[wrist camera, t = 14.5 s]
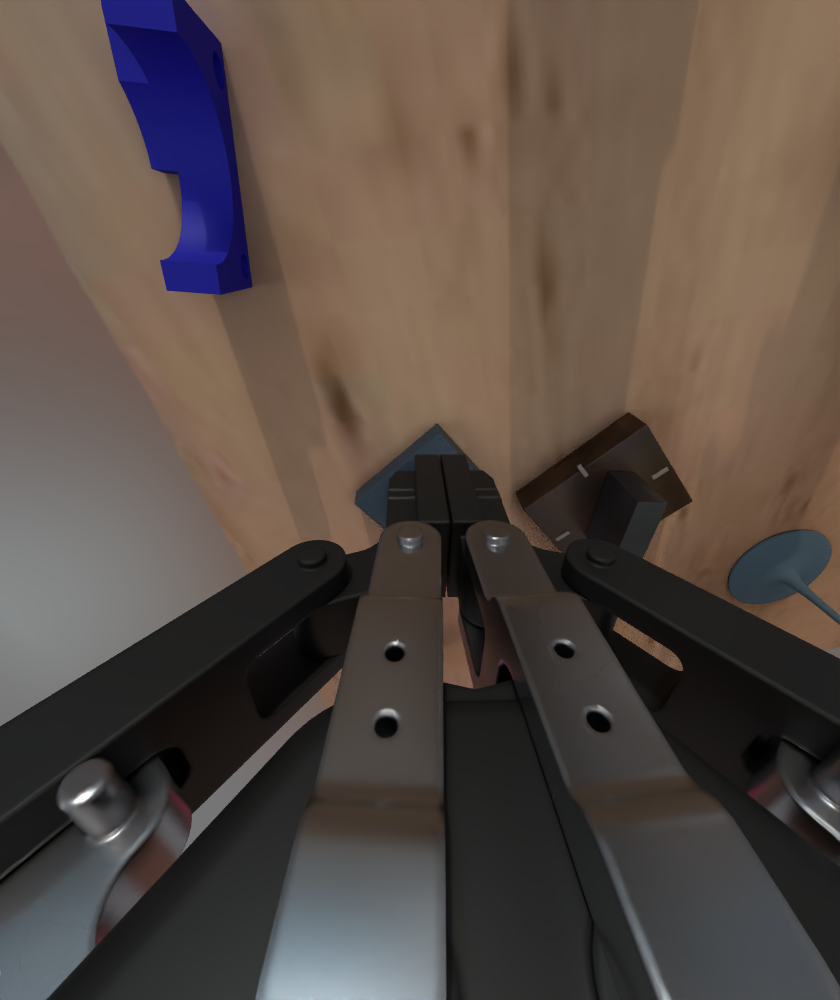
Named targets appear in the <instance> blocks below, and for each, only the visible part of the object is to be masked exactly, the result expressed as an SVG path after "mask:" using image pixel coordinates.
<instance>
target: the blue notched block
mask: <svg viewBox="0 0 840 1000" xmlns="http://www.w3.org/2000/svg"><path fill="white" fill-rule="evenodd" d="M101 3H102V4H101V5H102V10H103V14H104V18H105V23H106V27H107V32H108V36H109V40H110V45H111V49H112V53H113V58H114V62H115V67H116V71H117V75H118V80H119V82H120V84H121V86H122V88H123V90H124V92H125V94H126V96H127V98H128V100H129V102H130V105H131V107H132V109H133V112H134V114H135V116H136V119H137V122H138V124H139V127H140V130H141V133H142V136H143V139H144V142H145V145H146V148H147V152H148V156H149V160H150V164H151V168H152V169H154V170H157V171H160V172H163V173H170V174H179V180H180V186H181V195H182V229H181V235H180V239H179V243H178V245H177V248H176V249H175V251H174V253H173V254H172V255H171V256H170V257H169V258H167V259H165V260H160V262H161V267H162V271H163V275H164V280H165V284H166V289H167V291H179V292H193V293H206V294H219V295H221V294H225V293H230V292H234V291H238V290H242V289H246V288H251V287H252V281H251V273H250V265H249V258H248V250H247V242H246V234H245V226H244V219H243V211H242V203H241V195H240V187H239V180H238V172H237V164H236V156H235V148H234V141H233V133H232V125H231V117H230V109H229V102H228V94H227V86H226V78H225V70H224V63H223V55H222V47H221V43H220V42H219V40H218V39H217V38H216V37H215V36H214V34H213V33H212V32H211V31H210V30H209V28H208V27H207V26H206V25H205V24H204V23H203V21H202V20H201V19H200V18H199V17H198V15H197V14H196V13H195V12H194V11H193V9H192V8H191V7H190V6H189V5H188V3H187V2H186V1H185V0H101Z"/></svg>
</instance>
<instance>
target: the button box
mask: <svg viewBox="0 0 840 1000" xmlns="http://www.w3.org/2000/svg"><path fill="white" fill-rule="evenodd" d="M415 454H439V458H440V455H441V454H465V453H464V452H463V451H462V450H461V449H460V448H459V447H458V445H457V444H456V443H455V442H454V441H453V440H452V439H451V438H450V437H449V436H448V434H447V433H446V432H445V431H444V430H443V429H442V428H441V427H440V426H439V425H438V424H436V425H435V426H434V427H432V428H431V429H430V430H429V431H428V432H426V433H425V434H424V435H423V436H422V437H420V438H419V439H418V440H417V441H416V442H415V443H413V444H412V445H411V446H410V447H409V448H407V449H406V450H405V451H404V452H403V453H401V454H400V455H399V456H398V457H397V458H396V459H394V460H393V461H392V462H391V463H390V464H388V465H387V466H386V467H385V468H384V469H382V470H381V471H380V472H379V473H378V474H376V475H375V476H374V477H373V478H372V479H371V480H369V481H368V482H367V483H366V484H365V485H363V486H362V487H361V488H360V489H359V490H357V492H356V497H355V504H356V505H357V506H358V507H359V508H360V509H362V510H363V511H364V512H365V513H366V514H367V515H369V516H370V517H371V518H372V519H373V520H375V521H376V522H377V523H378V524H379V525H380V526H382V527H383V528H384V529H386V517H387V504H388V491H389V479H390V478H391V477H392V476H393V475H394V473H395V472H396V471H414V457H415ZM465 456H466V459H467V462H468V466H469V469H470V470H480V469H479V468H478V467H477V466H476V465H475V464H474V463H473V462H472V461H471V460H470V459H469V457H468V456H467V455H466V454H465ZM497 491H498V489H497ZM498 493H499V492H498ZM499 496H500V494H499ZM500 499H501V497H500ZM501 501H502V499H501Z"/></svg>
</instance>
